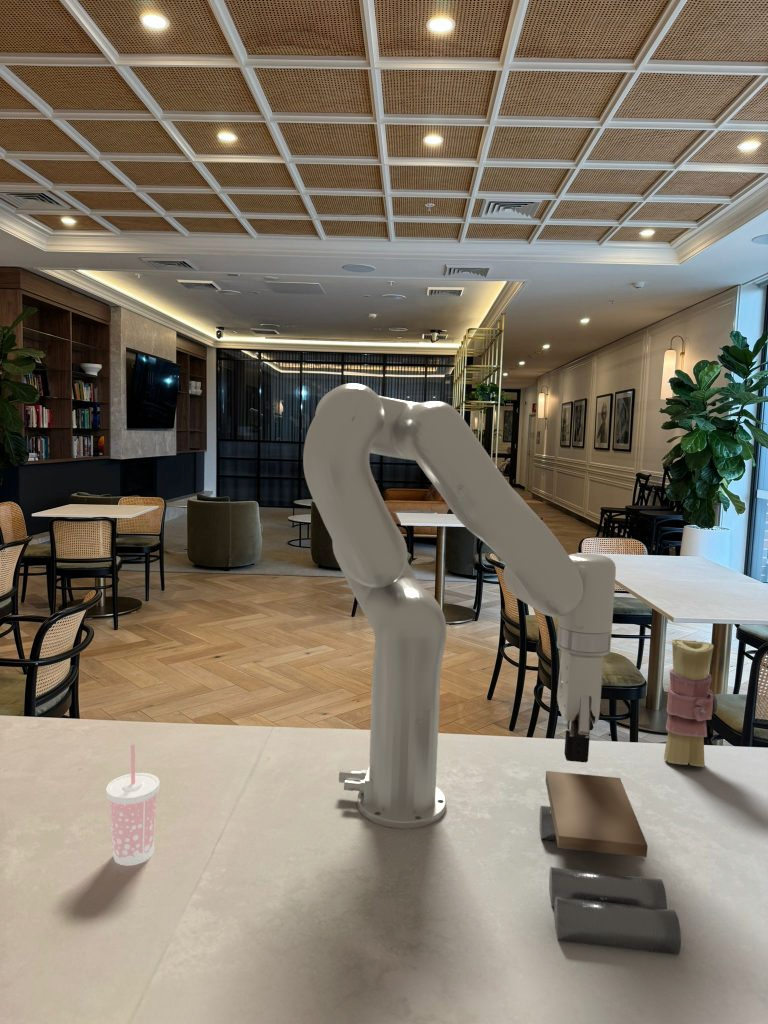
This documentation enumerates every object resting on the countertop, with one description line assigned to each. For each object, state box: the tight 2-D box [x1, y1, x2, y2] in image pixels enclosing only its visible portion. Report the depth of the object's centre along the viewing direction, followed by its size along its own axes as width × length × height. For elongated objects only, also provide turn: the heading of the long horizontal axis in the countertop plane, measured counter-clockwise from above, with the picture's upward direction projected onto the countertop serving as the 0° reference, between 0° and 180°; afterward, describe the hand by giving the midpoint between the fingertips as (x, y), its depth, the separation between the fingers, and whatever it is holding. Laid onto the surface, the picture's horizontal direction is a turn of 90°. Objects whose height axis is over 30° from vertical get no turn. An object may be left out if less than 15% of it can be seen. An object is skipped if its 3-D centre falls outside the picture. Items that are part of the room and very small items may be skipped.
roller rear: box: [539, 805, 557, 841], centre depth 90 cm, size 12×4×4 cm
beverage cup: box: [105, 744, 161, 867], centre depth 84 cm, size 6×6×14 cm
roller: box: [553, 897, 682, 955], centre depth 72 cm, size 12×4×4 cm, turn 82°
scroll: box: [663, 639, 718, 768], centre depth 112 cm, size 8×8×20 cm
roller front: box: [548, 866, 668, 909], centre depth 77 cm, size 12×4×4 cm
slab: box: [545, 770, 648, 858], centre depth 88 cm, size 10×16×2 cm, turn 172°
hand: (575, 758), depth 102 cm, fingers closed
